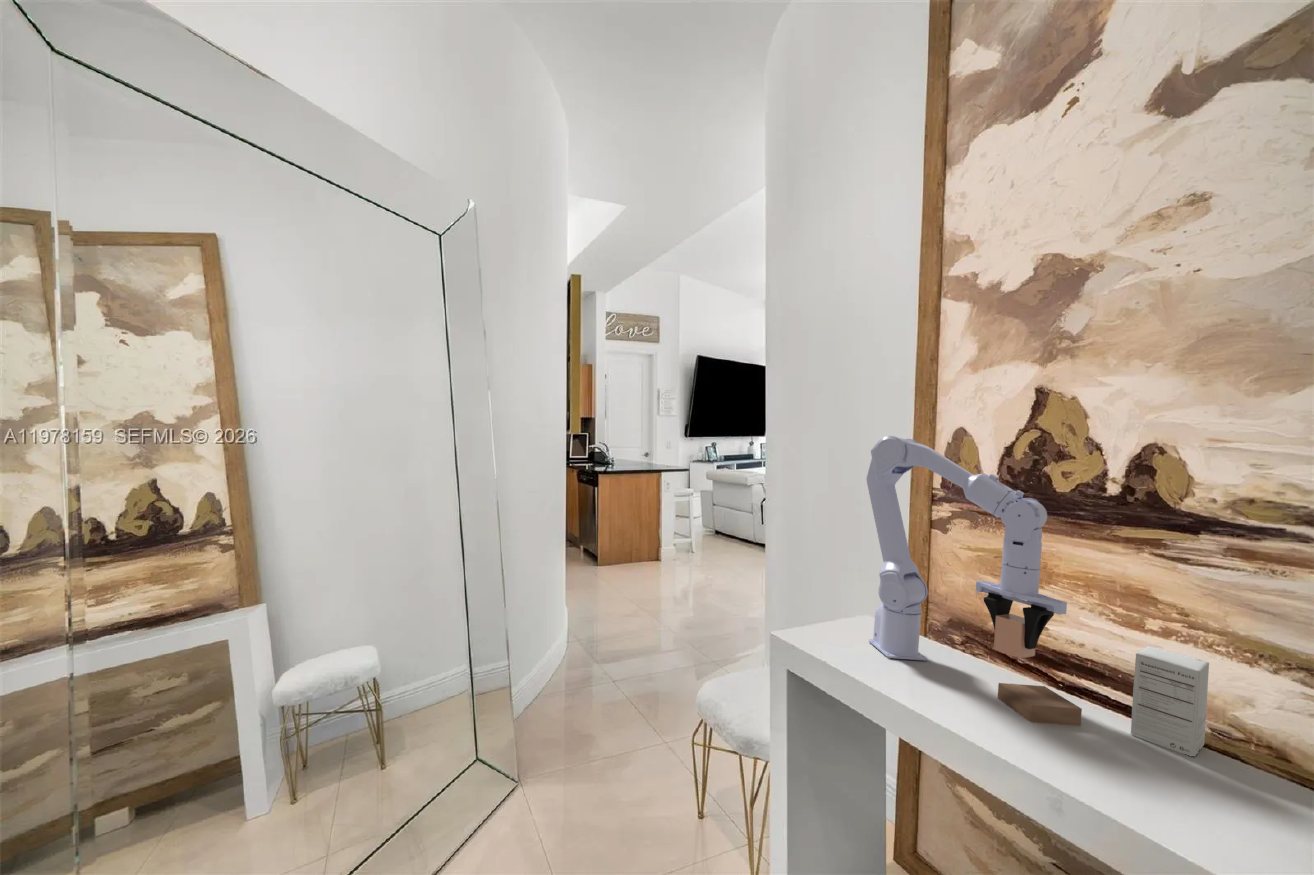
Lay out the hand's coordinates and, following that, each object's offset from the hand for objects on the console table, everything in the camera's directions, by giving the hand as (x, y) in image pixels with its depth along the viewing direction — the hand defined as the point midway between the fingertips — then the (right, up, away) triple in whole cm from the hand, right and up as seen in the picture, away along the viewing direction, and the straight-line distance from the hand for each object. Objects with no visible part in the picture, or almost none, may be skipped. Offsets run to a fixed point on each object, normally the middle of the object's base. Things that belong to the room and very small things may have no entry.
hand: (1015, 643), depth 98 cm
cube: (0, -2, 0) cm, 2 cm away
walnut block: (-1, -9, -8) cm, 12 cm away
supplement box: (+14, -10, -14) cm, 22 cm away
